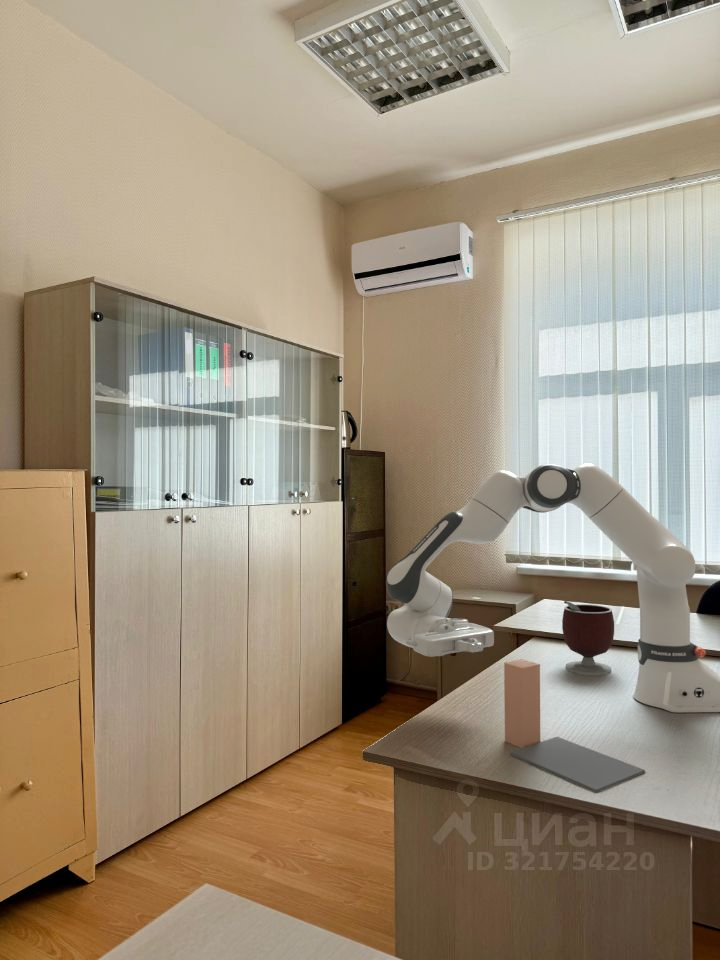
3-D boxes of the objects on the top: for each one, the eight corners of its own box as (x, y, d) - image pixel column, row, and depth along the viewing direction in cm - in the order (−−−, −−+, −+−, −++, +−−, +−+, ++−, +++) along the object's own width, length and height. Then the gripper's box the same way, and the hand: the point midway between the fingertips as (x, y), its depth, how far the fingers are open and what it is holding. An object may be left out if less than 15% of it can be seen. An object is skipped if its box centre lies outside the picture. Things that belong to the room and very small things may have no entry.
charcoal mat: (509, 754, 134) (509, 752, 134) (557, 739, 142) (557, 736, 142) (596, 792, 118) (596, 789, 118) (645, 772, 126) (645, 769, 126)
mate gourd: (588, 660, 204) (587, 592, 204) (625, 671, 191) (625, 599, 191) (547, 667, 197) (547, 597, 197) (584, 679, 184) (583, 604, 184)
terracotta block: (504, 740, 141) (504, 662, 141) (521, 735, 144) (521, 659, 144) (523, 748, 137) (522, 668, 137) (540, 743, 140) (539, 664, 140)
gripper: (402, 627, 156) (442, 639, 145) (468, 617, 168) (511, 628, 156) (401, 655, 156) (442, 669, 145) (468, 643, 168) (510, 656, 156)
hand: (478, 648), depth 151 cm, fingers closed
